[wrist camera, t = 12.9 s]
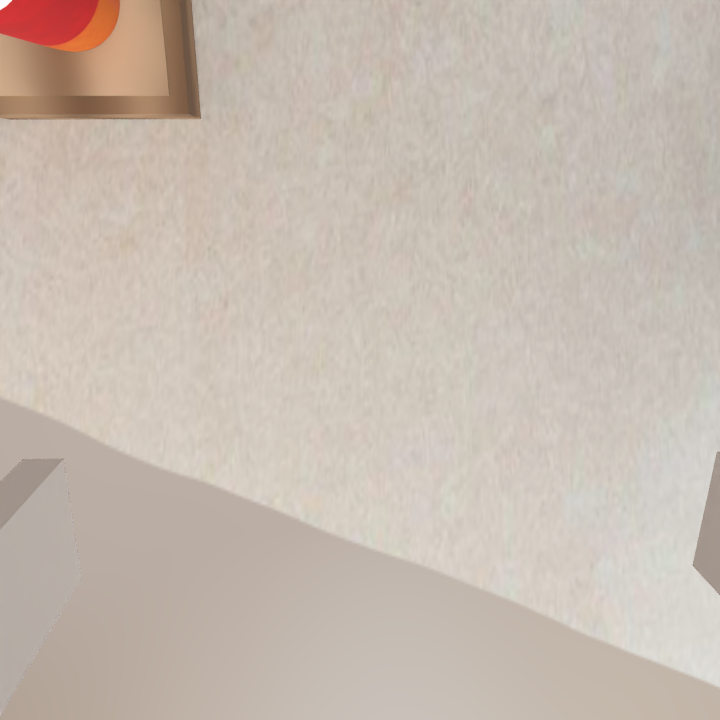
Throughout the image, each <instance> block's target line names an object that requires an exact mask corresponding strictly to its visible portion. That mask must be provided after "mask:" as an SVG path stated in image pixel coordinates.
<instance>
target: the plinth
mask: <svg viewBox="0 0 720 720" xmlns="http://www.w3.org/2000/svg"><path fill="white" fill-rule="evenodd" d="M0 118H5V119H201V115H200V103H199V91H198V78H197V66H196V54H195V41H194V29H193V17H192V4H191V0H120V10H119V16H118V20H117V23H116V26H115V28H114V30H113V32H112V33H111V35H110V36H109V37H108V38H107V39H106V40H105V41H104V42H103V43H102V44H100V45H99V46H97V47H95V48H93V49H90V50H87V51H81V52H70V51H63V50H58V49H54V48H50V47H46V46H43V45H39V44H35V43H32V42H28V41H25V40H21V39H18V38H14V37H11V36H7V35H4V34H0Z"/></svg>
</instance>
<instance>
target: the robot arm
mask: <svg viewBox="0 0 720 720" xmlns="http://www.w3.org/2000/svg"><path fill="white" fill-rule="evenodd" d="M693 566H694V567H695V569H696V570H697V571H698V572H699V573H700V574H701V575H702V576H703V577H704V578H705V579H706V581H707V582H708V583H709V584H710V585H711V586H712V587H713V588H714V589H715V590H716V591H717V593H718V594H719V595H720V452H717V455H716V459H715V464H714V469H713V473H712V478H711V482H710V487H709V492H708V496H707V501H706V506H705V510H704V515H703V520H702V524H701V529H700V534H699V538H698V543H697V548H696V552H695V557H694V561H693ZM80 580H81V572H80V565H79V558H78V552H77V545H76V538H75V531H74V525H73V518H72V511H71V505H70V497H69V491H68V484H67V477H66V470H65V463H64V459H23V460H22V461H21V462H20V463H19V464H18V465H17V466H16V467H15V468H13V469H12V471H10V473H8V474H7V475H6V476H5V477H4V478H3V479H2V480H1V481H0V716H1V714H2V712H3V710H4V709H5V707H6V705H7V703H8V702H9V700H10V699H11V697H12V695H13V694H14V692H15V690H16V688H17V687H18V685H19V683H20V682H21V680H22V678H23V676H24V675H25V673H26V671H27V670H28V668H29V666H30V665H31V663H32V661H33V660H34V658H35V656H36V655H37V653H38V651H39V650H40V648H41V646H42V644H43V643H44V641H45V639H46V638H47V636H48V634H49V632H50V631H51V629H52V628H53V626H54V624H55V622H56V621H57V619H58V617H59V616H60V614H61V612H62V611H63V609H64V607H65V606H66V604H67V602H68V600H69V599H70V597H71V595H72V594H73V592H74V590H75V588H76V587H77V585H78V583H79V582H80Z"/></svg>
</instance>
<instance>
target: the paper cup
mask: <svg viewBox="0 0 720 720" xmlns="http://www.w3.org/2000/svg"><path fill="white" fill-rule="evenodd" d="M119 10H120V0H0V34H4V35H7V36H11V37H14V38H18V39H21V40H25V41H28V42H32V43H35V44H39V45H43V46H46V47H50V48H54V49H58V50H63V51H70V52H81V51H87V50H90V49H93V48H95V47H97V46H99V45H100V44H102V43H103V42H104V41H105V40H106V39H107V38H108V37H109V36H110V35H111V33H112V32H113V30H114V28H115V26H116V23H117V20H118V16H119Z"/></svg>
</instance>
